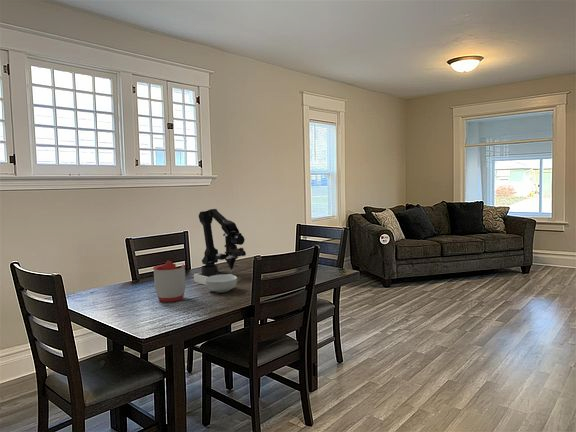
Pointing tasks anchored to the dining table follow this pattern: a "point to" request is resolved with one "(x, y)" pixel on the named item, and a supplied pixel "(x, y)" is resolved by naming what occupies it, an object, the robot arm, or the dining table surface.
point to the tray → (201, 278)
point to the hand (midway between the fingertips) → (231, 269)
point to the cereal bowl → (221, 282)
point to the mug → (209, 270)
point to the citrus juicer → (169, 282)
